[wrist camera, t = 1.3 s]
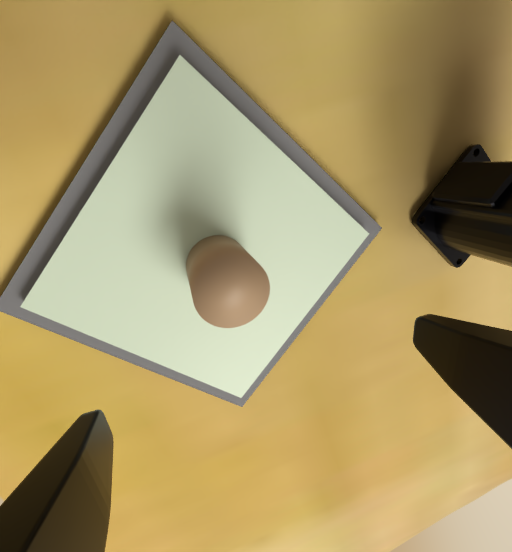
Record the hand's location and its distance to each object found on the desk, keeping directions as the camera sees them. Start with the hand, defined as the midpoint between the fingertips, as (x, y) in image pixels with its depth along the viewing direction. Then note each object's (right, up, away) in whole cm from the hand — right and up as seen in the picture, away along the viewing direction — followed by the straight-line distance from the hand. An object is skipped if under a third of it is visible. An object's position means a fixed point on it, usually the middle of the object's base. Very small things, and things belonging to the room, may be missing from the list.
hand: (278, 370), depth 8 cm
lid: (-3, +3, +9) cm, 10 cm away
